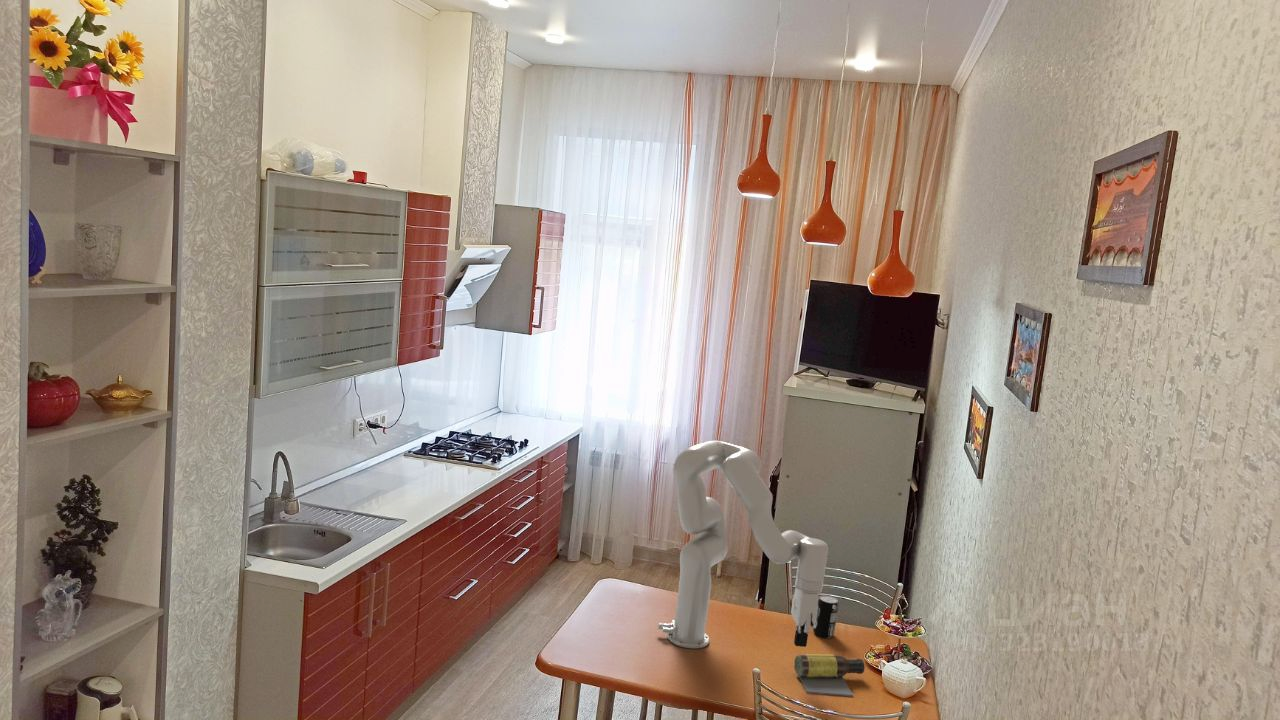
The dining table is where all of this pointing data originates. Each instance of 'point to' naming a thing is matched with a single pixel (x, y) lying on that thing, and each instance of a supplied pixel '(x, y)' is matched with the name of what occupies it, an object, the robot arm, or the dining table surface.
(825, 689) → the mat
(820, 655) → the sauce bottle
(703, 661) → the dining table surface
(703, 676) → the dining table surface
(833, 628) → the beverage can
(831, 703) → the dining table surface
